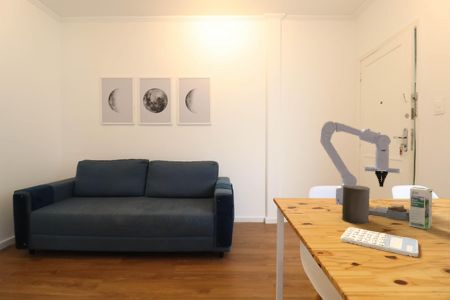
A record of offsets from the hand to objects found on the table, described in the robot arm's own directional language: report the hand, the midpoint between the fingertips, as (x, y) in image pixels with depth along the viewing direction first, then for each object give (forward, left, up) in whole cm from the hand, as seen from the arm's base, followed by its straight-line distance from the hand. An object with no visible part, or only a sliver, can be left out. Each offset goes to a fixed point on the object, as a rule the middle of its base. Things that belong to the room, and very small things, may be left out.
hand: (381, 186), depth 126 cm
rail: (+2, -19, -10) cm, 22 cm away
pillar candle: (-6, -33, -10) cm, 35 cm away
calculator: (+4, -54, -11) cm, 55 cm away
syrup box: (+15, -27, -10) cm, 32 cm away
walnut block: (+6, -18, -8) cm, 20 cm away
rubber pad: (+2, -7, -10) cm, 12 cm away
